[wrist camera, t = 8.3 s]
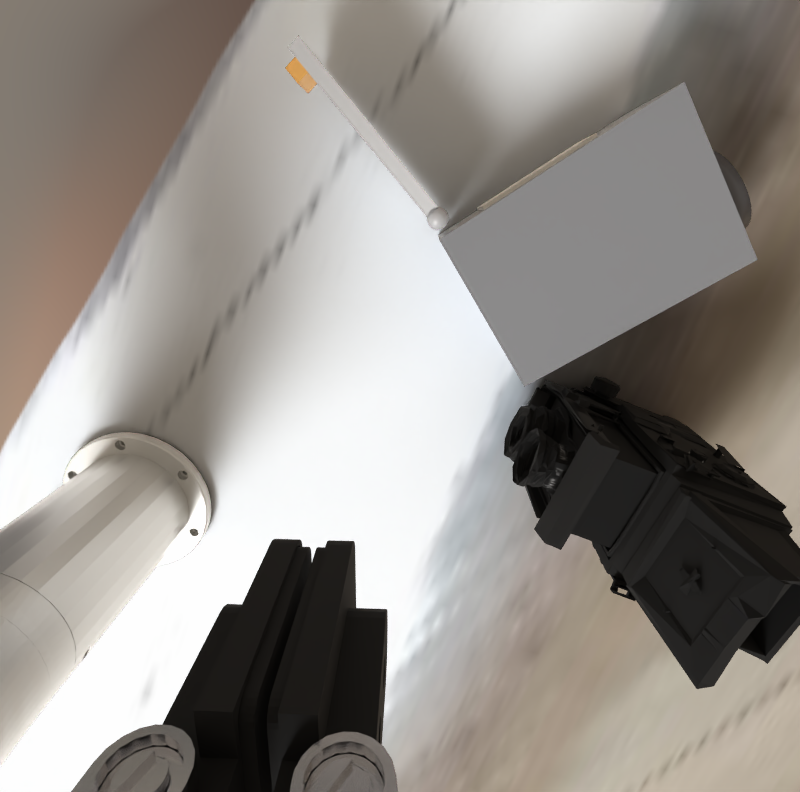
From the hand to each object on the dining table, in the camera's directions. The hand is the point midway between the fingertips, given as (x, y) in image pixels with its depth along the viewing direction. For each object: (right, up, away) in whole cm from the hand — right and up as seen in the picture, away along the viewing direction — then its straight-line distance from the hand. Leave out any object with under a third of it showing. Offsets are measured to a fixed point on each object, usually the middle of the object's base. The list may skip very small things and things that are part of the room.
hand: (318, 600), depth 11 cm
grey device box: (+13, +15, +25) cm, 32 cm away
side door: (0, +20, +23) cm, 30 cm away
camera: (+16, +1, +30) cm, 34 cm away
